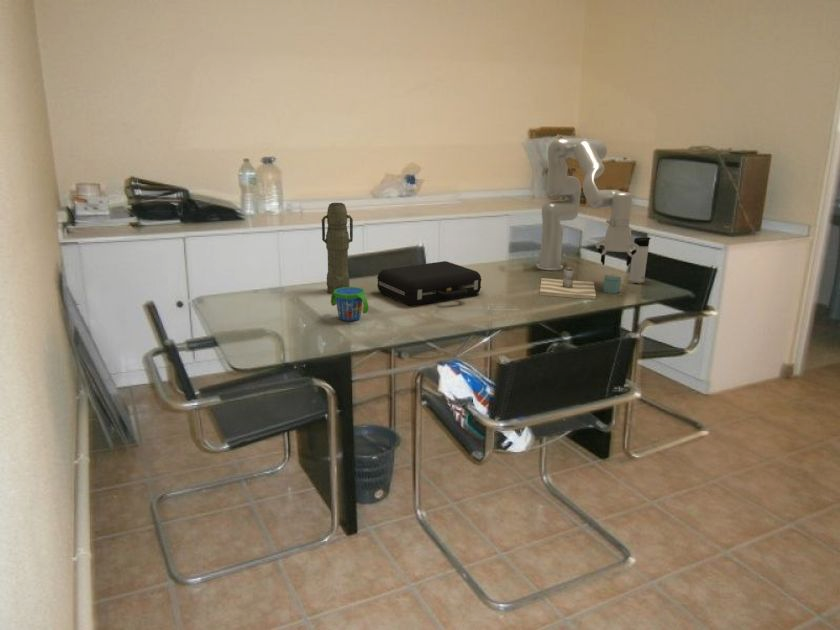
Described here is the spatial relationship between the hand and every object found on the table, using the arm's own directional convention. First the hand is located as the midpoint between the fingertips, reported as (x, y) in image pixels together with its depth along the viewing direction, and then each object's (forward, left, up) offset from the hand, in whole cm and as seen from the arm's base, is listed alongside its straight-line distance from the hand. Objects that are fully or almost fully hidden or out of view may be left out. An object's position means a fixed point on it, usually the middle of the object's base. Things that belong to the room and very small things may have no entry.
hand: (615, 264), depth 269 cm
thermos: (+33, -108, -12) cm, 114 cm away
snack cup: (+65, -93, -12) cm, 114 cm away
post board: (+4, -18, -11) cm, 22 cm away
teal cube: (0, 0, -11) cm, 11 cm away
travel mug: (-18, +12, -12) cm, 25 cm away
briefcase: (+27, -70, -12) cm, 76 cm away
